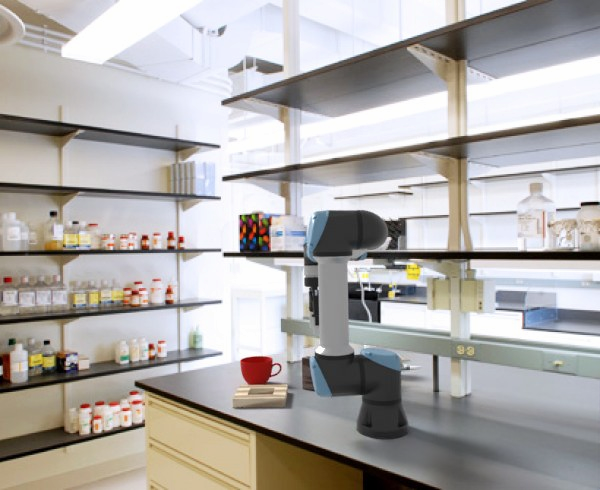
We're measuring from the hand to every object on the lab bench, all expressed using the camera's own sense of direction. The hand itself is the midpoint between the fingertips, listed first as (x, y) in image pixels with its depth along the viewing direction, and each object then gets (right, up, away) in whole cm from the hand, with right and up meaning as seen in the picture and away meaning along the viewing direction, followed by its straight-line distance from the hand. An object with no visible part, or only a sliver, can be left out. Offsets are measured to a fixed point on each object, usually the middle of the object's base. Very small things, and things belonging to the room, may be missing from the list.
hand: (315, 331), depth 191 cm
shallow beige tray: (-20, -22, -14) cm, 33 cm away
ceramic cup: (-21, -23, +6) cm, 32 cm away
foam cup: (+26, -22, +16) cm, 37 cm away
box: (-1, -22, -2) cm, 22 cm away
